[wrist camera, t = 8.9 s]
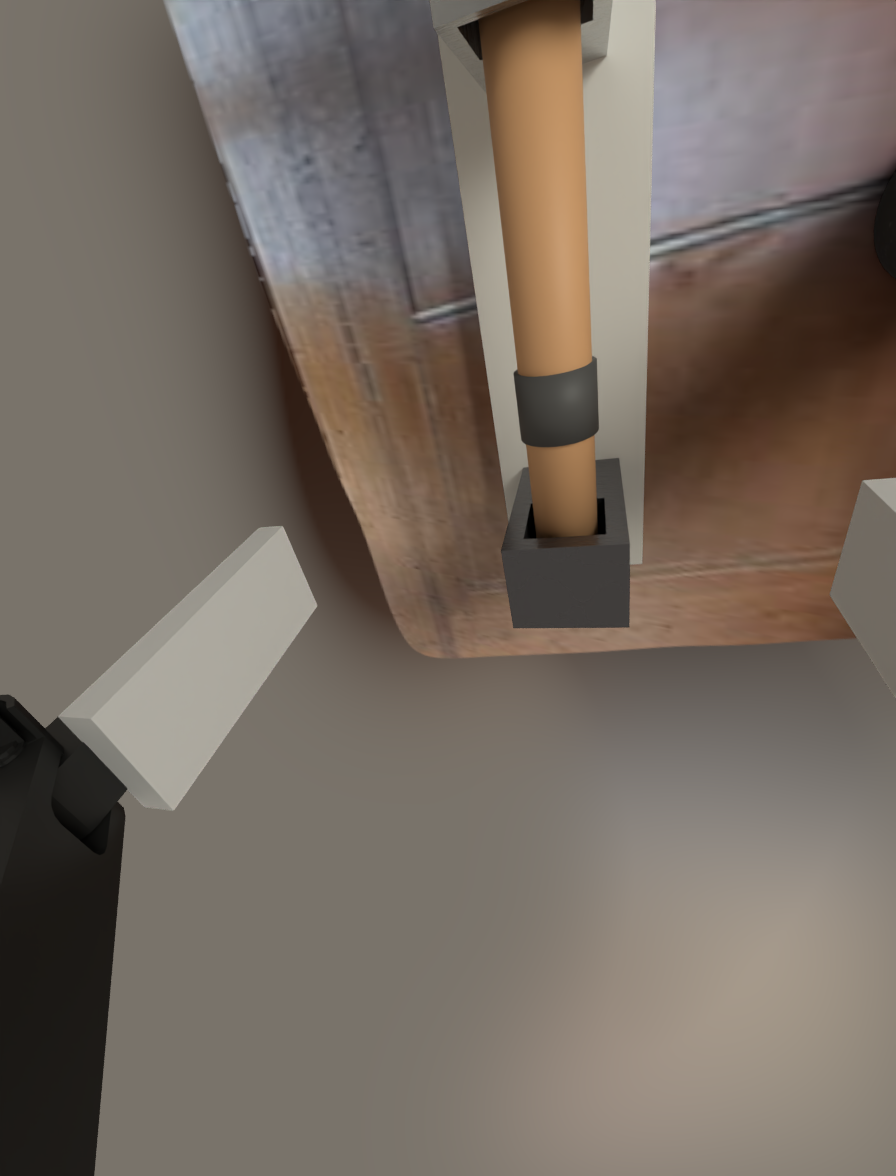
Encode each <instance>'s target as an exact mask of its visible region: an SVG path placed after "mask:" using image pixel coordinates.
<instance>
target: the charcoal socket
mask: <svg viewBox="0 0 896 1176" xmlns="http://www.w3.org/2000/svg"><path fill="white" fill-rule="evenodd" d="M595 463H596V493H597V523H598V535H587V536H570V537H554V538H536V529H535V520H534V511H533V503H532V494H531V485H530V476H529V467H524V468H523V470H522V474H521V478H520V482H519V485H518V489H517V493H516V497H515V500H514V504H513V508H512V512H511V515H510V519H509V523H508V527H507V530H506V534H505V538H504V542H503V545H502V549H501V553H502V560H503V566H504V572H505V578H506V585H507V591H508V597H509V603H510V609H511V616H512V622H513V628H618V627H629V600H630V540H629V532H628V525H627V517H626V509H625V501H624V493H623V485H622V477H621V469H620V461H619V458H612V459H602V460H595Z"/></svg>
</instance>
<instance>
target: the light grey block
mask: <svg viewBox="0 0 896 1176" xmlns="http://www.w3.org/2000/svg"><path fill="white" fill-rule="evenodd" d="M429 1H430V8H431V15H432V22H433V28H434V30H435V31H436V32H437V34H438V35H439V36H440V37H441V38H442V40H443V41H444V42H445V43H446V45H447V46H448V47H449V48H450V50H451V51H452V52H453V53H454V54H455V56H456V57H457V58H458V59H459V61H460V62H461V63H462V64H463V65H464V67H465V68H466V69H467V70H468V72H469V73H470V74H471V75H472V77H473V78H474V79H475V80H476V81H477V83H478V84H479V85H480V86H481V88H482V89H483V90H484V91H485V93H486V85H485V76H484V67H483V58H482V49H481V40H480V31H479V23H478V19H480V18H483V17H486V16H488V15H491V14H493V13H496V12H499V11H501V10H504V9H506V8H509V7H512V6H514V5H517V4H520V3H522V2H525V1H527V0H429ZM612 3H613V0H580V15H581V45H582V64H584V63H587V62H590V61H593V60H596V59H599V58H602V57H605V56H607V50H608V41H609V31H610V22H611V13H612Z"/></svg>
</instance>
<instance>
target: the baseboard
mask: <svg viewBox="0 0 896 1176" xmlns="http://www.w3.org/2000/svg"><path fill="white" fill-rule="evenodd" d="M655 11H656V0H613V3H612V13H611V22H610V31H609V41H608V50H607V56H605V57H602V58H599V59H596V60H593V61H590V62H587V63H584V64H582V75H583V105H584V134H585V164H586V194H587V224H588V254H589V284H590V314H591V343H592V356H594V357H596V358H597V381H598V416H599V430H598V432H597V433H596V434H595V460H602V459H612V458H619V461H620V469H621V477H622V485H623V493H624V501H625V509H626V517H627V525H628V532H629V540H630V564H642V552H643V510H644V469H645V427H646V385H647V344H648V302H649V261H650V219H651V178H652V136H653V94H654V53H655ZM437 35H438V34H437ZM438 41H439V48H440V55H441V62H442V69H443V76H444V83H445V89H446V96H447V103H448V110H449V117H450V124H451V131H452V138H453V144H454V151H455V158H456V165H457V172H458V179H459V186H460V193H461V199H462V206H463V213H464V220H465V227H466V234H467V241H468V248H469V254H470V261H471V268H472V275H473V282H474V289H475V296H476V303H477V309H478V316H479V323H480V330H481V337H482V344H483V351H484V357H485V364H486V371H487V378H488V385H489V392H490V399H491V406H492V412H493V419H494V426H495V433H496V440H497V447H498V454H499V461H500V467H501V474H502V481H503V488H504V495H505V502H506V509H507V516H508V522H509V519H510V515H511V512H512V508H513V504H514V500H515V497H516V493H517V489H518V485H519V482H520V478H521V474H522V470H523V468H524V467H528V458H527V449H526V444H524V443H523V442H522V441H521V434H520V425H519V417H518V408H517V400H516V391H515V383H514V374H513V373H514V371H516V370H517V360H516V351H515V343H514V334H513V325H512V316H511V307H510V298H509V289H508V280H507V271H506V263H505V254H504V245H503V236H502V227H501V218H500V209H499V200H498V191H497V183H496V174H495V165H494V156H493V147H492V138H491V129H490V120H489V111H488V103H487V94H486V93H485V91H484V90H483V89H482V88H481V86H480V85H479V84H478V83H477V81H476V80H475V79H474V78H473V77H472V75H471V74H470V73H469V72H468V70H467V69H466V68H465V67H464V65H463V64H462V63H461V62H460V61H459V59H458V58H457V57H456V56H455V54H454V53H453V52H452V51H451V50H450V48H449V47H448V46H447V45H446V43H445V42H444V41H443V40H442V38H441V37H440V36H439V35H438Z"/></svg>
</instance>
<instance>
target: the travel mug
mask: <svg viewBox="0 0 896 1176" xmlns="http://www.w3.org/2000/svg"><path fill="white" fill-rule="evenodd" d="M874 244H875V249H876V253H877V255H878V258H879V261H880V262H881V264H882V266H883V267H884V269H885V270H886V271H887V272H888V273H889V274H890V275H891V276H893V277H894V278H895V279H896V171H895V173H894V174H893V176H892V178H891V179H890V181H889V183H888V185H887V187H886V189H885V191H884V193H883V195H882V198H881V201H880V204H879V206H878V210H877V214H876V218H875V226H874Z"/></svg>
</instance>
